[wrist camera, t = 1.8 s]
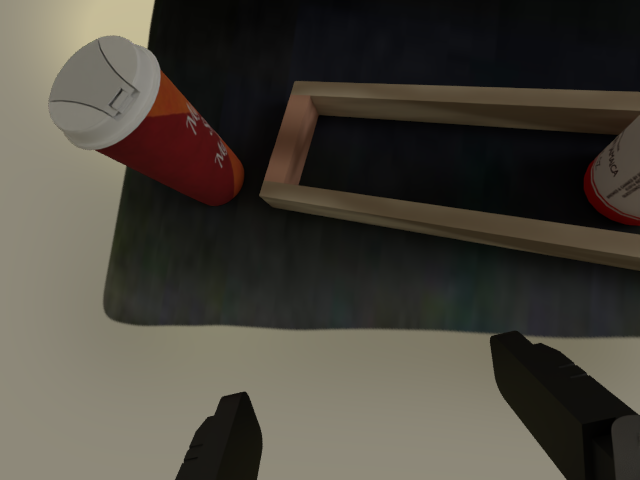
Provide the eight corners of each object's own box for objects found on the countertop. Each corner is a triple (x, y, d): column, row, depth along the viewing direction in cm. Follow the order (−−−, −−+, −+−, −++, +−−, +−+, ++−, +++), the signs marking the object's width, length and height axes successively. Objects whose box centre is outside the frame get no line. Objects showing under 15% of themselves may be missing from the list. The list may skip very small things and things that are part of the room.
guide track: (304, 101, 35) (294, 81, 32) (737, 124, 24) (779, 96, 21) (272, 207, 33) (259, 195, 30) (733, 287, 21) (780, 280, 19)
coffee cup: (269, 165, 34) (167, 49, 20) (222, 231, 33) (84, 159, 20) (216, 133, 37) (95, 14, 23) (172, 193, 37) (21, 107, 23)
